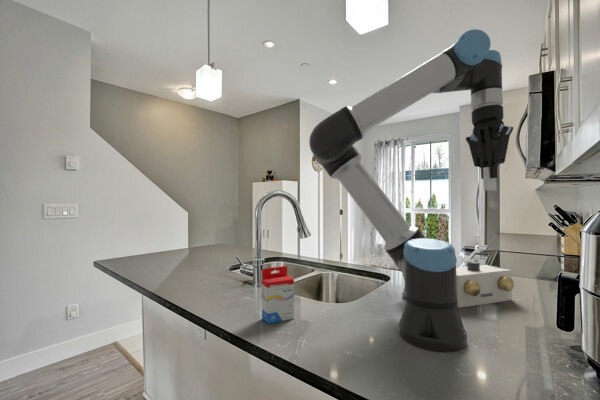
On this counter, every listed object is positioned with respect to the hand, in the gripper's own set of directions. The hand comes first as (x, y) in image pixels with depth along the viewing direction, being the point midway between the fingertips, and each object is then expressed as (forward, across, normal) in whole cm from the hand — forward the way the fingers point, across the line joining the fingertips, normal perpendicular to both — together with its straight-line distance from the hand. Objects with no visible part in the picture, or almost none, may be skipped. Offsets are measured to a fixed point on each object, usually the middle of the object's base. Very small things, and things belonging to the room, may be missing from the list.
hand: (489, 190), depth 79 cm
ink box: (+37, +20, +58) cm, 71 cm away
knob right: (+33, +12, -16) cm, 38 cm away
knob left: (+33, +12, -2) cm, 35 cm away
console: (+36, +14, -9) cm, 40 cm away
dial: (+26, +14, -9) cm, 31 cm away
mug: (+37, +23, +8) cm, 44 cm away
